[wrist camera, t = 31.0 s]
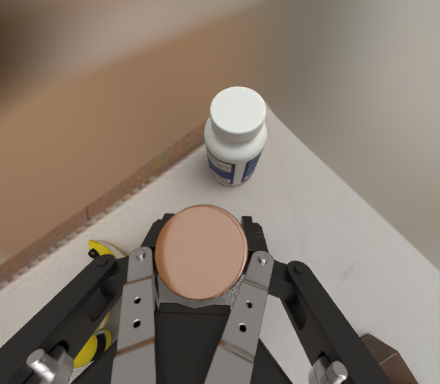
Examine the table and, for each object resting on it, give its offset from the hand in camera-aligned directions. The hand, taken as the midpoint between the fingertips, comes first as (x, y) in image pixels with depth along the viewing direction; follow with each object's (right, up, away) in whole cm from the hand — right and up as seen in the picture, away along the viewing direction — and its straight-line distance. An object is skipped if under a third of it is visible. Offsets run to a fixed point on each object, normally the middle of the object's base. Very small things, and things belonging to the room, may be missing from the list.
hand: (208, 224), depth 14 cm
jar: (0, -3, +4) cm, 5 cm away
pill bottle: (+2, +6, +8) cm, 10 cm away
